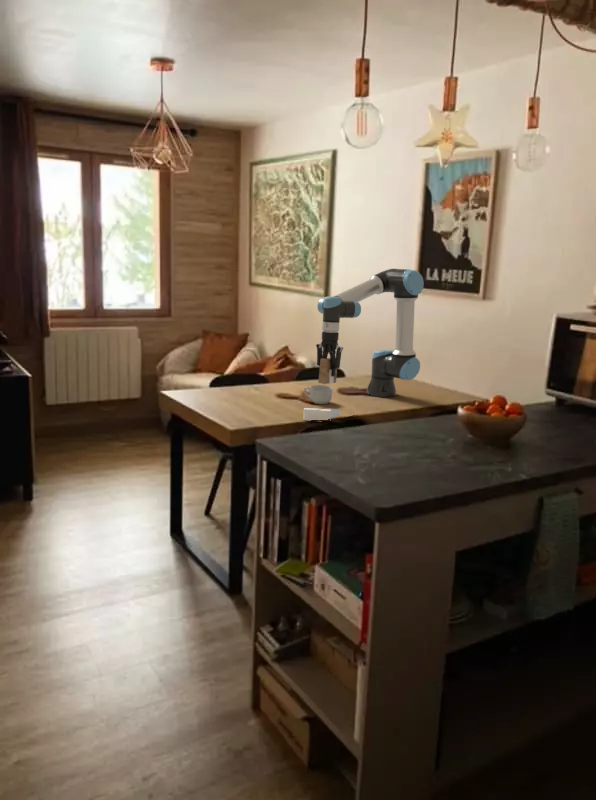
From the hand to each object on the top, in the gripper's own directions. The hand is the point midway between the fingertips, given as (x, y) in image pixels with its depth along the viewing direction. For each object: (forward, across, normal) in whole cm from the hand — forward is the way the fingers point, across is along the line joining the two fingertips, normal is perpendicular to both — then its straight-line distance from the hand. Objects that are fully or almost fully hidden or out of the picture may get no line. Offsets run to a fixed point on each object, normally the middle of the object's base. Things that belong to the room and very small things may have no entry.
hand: (327, 382), depth 309 cm
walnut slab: (0, 0, 0) cm, 0 cm away
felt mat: (+13, +7, -3) cm, 15 cm away
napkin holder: (+14, +8, -18) cm, 24 cm away
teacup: (+13, -12, +10) cm, 21 cm away
